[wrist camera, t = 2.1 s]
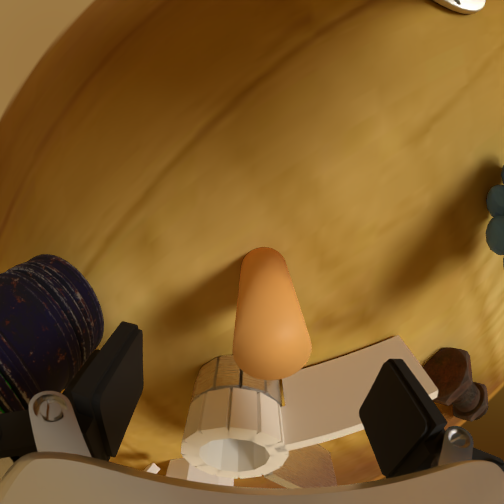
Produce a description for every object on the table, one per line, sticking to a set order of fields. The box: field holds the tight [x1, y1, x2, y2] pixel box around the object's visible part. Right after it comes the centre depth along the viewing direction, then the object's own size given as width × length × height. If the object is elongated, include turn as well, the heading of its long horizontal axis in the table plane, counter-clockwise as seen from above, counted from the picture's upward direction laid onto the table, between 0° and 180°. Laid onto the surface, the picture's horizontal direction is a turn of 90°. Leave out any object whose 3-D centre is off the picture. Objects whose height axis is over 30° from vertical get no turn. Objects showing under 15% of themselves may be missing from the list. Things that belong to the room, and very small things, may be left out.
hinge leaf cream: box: [181, 335, 438, 479], centre depth 18 cm, size 17×7×7 cm, turn 108°
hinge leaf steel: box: [189, 355, 337, 489], centre depth 20 cm, size 7×19×7 cm, turn 38°
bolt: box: [423, 347, 488, 421], centre depth 21 cm, size 6×5×15 cm
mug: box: [143, 458, 234, 486], centre depth 22 cm, size 12×9×10 cm
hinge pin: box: [233, 247, 312, 380], centre depth 15 cm, size 3×3×9 cm
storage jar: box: [0, 254, 104, 414], centre depth 13 cm, size 10×10×15 cm
